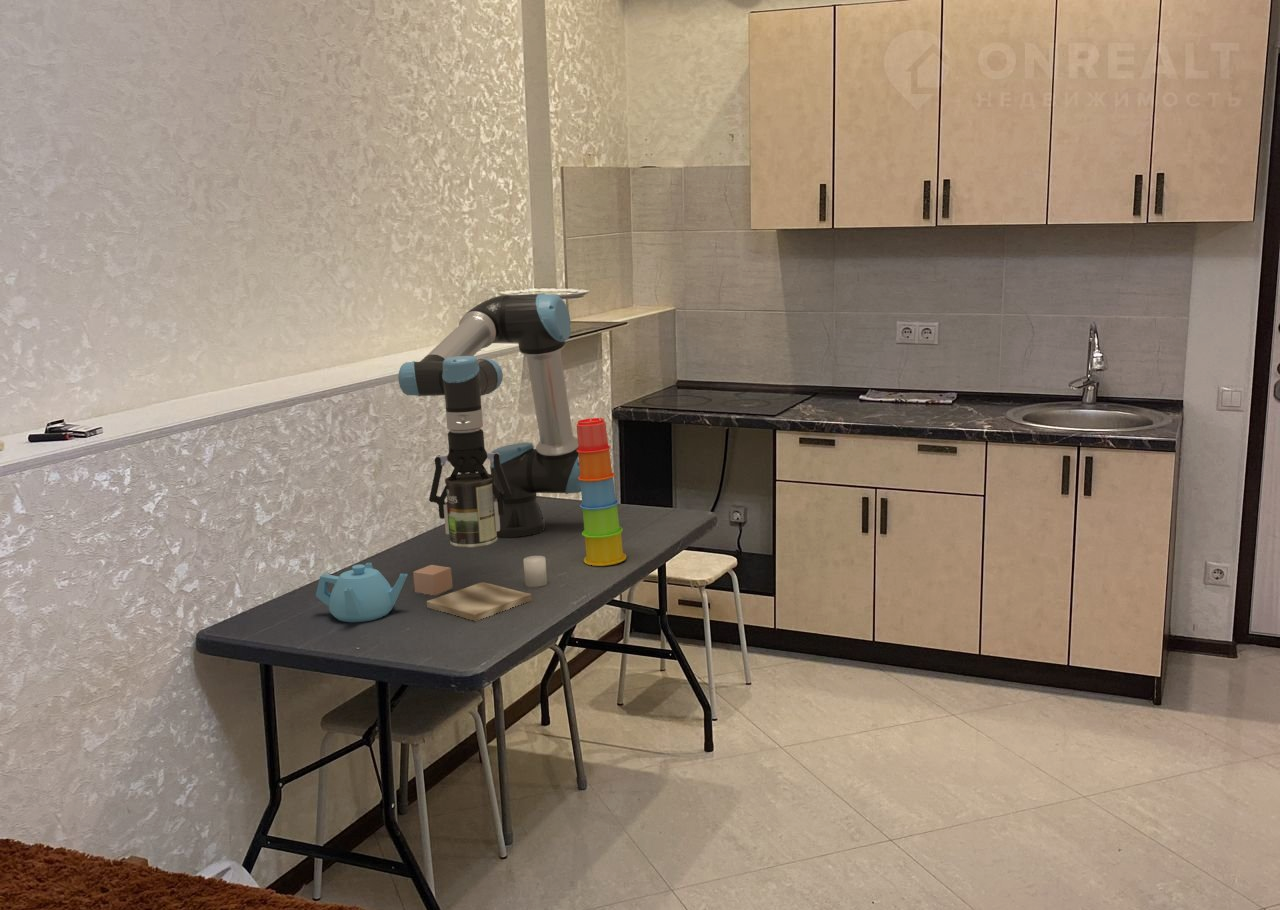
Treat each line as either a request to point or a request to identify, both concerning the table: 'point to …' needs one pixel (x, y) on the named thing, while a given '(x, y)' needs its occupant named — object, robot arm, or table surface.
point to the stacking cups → (598, 495)
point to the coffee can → (471, 510)
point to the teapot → (359, 594)
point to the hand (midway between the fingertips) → (473, 531)
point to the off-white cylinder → (535, 571)
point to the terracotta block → (432, 579)
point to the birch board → (479, 601)
